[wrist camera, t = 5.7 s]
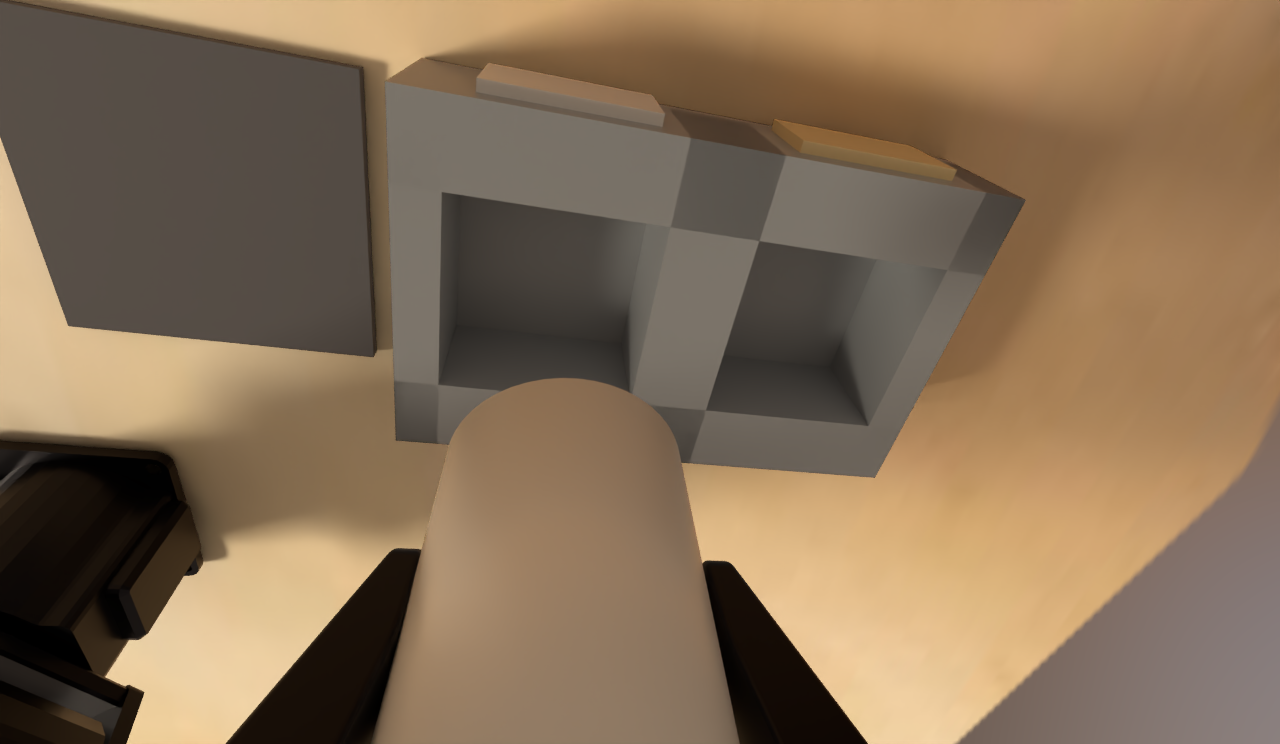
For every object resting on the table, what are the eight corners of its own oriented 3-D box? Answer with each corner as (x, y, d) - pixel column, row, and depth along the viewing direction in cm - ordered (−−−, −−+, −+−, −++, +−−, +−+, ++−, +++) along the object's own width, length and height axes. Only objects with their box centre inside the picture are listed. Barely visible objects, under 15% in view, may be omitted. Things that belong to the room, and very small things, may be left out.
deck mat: (76, 320, 19) (68, 325, 19) (-38, -9, 14) (-52, -8, 14) (376, 350, 21) (373, 357, 21) (363, 67, 16) (358, 69, 16)
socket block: (421, 367, 21) (395, 440, 18) (421, 45, 16) (384, 66, 13) (833, 408, 25) (874, 477, 21) (951, 150, 19) (1031, 189, 16)
